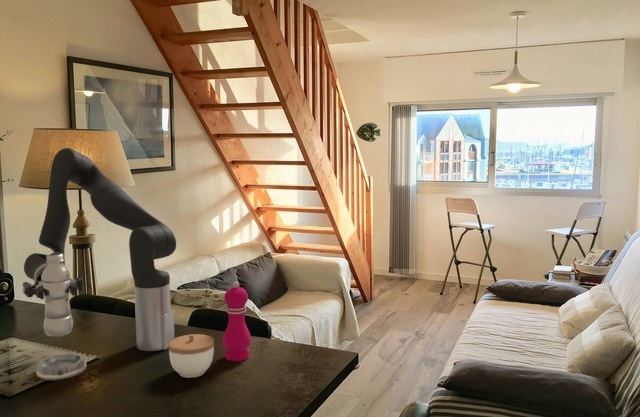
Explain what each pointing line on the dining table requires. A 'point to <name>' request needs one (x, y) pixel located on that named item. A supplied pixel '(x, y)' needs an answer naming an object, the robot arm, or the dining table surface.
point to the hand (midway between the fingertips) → (58, 293)
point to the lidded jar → (191, 354)
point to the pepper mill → (236, 325)
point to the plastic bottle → (56, 296)
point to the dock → (61, 366)
